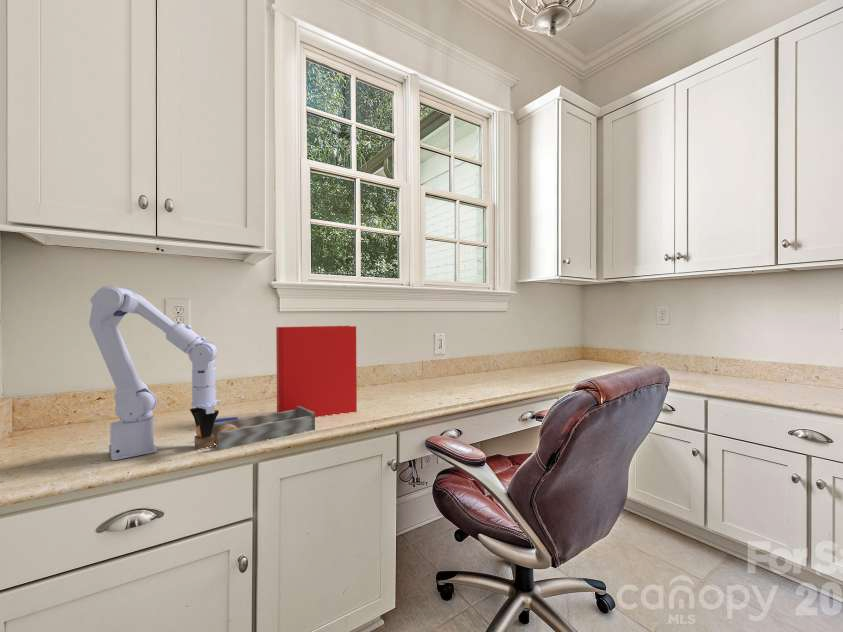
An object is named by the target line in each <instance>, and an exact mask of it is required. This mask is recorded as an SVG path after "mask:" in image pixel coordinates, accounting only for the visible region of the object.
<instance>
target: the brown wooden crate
mask: <svg viewBox="0 0 843 632" xmlns="http://www.w3.org/2000/svg"><path fill="white" fill-rule="evenodd" d="M195 446H196V447H195ZM210 446H214V447H215V445H214V436H213V435H212V434H211V436H210V437H205V438H201V437H199V436H198V435H197V434H196V435H194V447H195V449H196V450H197V449H201V448H205V449H207V448H206V447H210ZM210 448H211V447H210ZM201 450H202V449H201Z"/></svg>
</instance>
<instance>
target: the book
mask: <svg viewBox="0 0 843 632" xmlns="http://www.w3.org/2000/svg"><path fill="white" fill-rule="evenodd" d="M275 330H276V335H275V337H276V339H275V340H276V341H275V342H276V343H275V344H276V348H275V349H276V351H275V352H276V354H275V355H276V413H278V412H284V411H290V410H296V409H297V406H301V407H303V408H306V409H308V410H310V411H313V412H315V418H317V417H318V418H320V417H326V416H325V415H328V416H334V415H333V414H336V415H341V414H340V413H345V414H350V413H349V412H353V413H358V409H357V407H358V406H357V403H358V402H357V399H358V398H357V395H358V394H357V387H358V386H357V382H358V381H357V326H356V325H354V326H353V325H352V326H351V325H323V326H322V325H320V326H319V325H317V326H311V325H310V326H278V327H277V326H276V329H275ZM319 416H320V417H319Z"/></svg>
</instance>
